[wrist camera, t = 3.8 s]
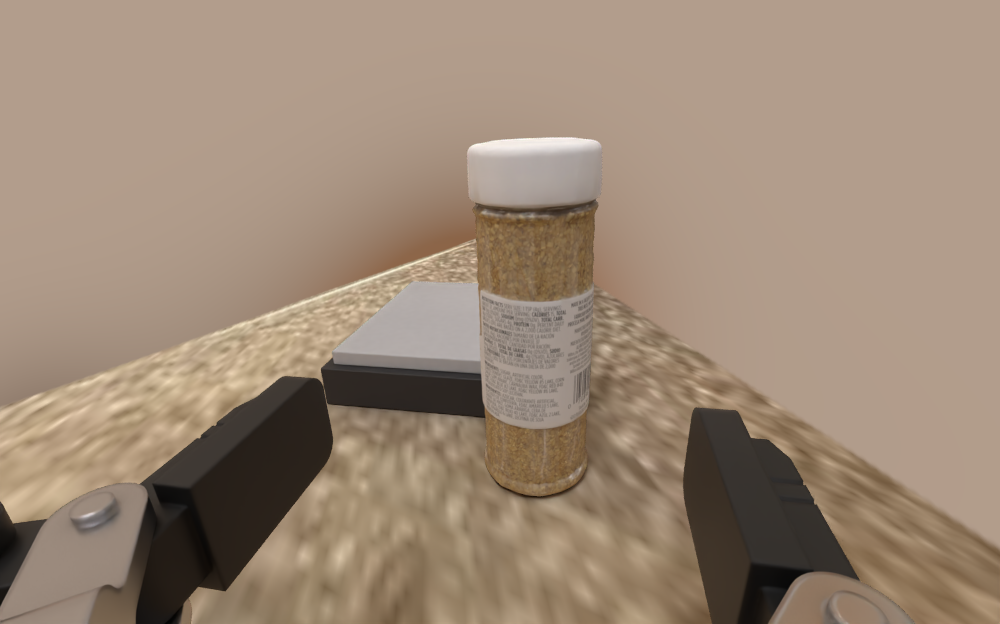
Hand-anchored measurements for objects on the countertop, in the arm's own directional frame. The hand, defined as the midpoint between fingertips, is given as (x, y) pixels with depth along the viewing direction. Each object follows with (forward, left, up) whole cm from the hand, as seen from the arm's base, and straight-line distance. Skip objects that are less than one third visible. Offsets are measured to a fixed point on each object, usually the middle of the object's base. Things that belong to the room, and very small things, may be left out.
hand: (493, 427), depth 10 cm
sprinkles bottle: (0, -8, -8) cm, 12 cm away
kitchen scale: (+5, -18, -8) cm, 21 cm away
